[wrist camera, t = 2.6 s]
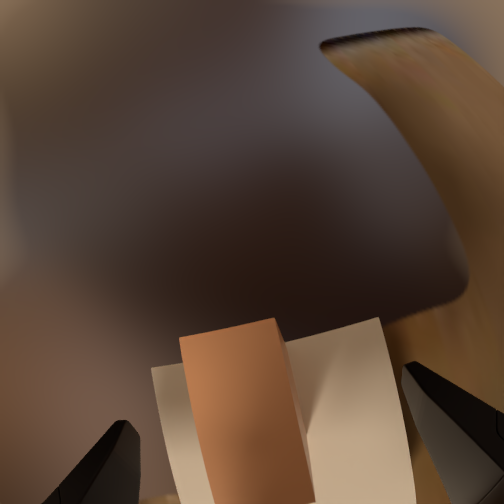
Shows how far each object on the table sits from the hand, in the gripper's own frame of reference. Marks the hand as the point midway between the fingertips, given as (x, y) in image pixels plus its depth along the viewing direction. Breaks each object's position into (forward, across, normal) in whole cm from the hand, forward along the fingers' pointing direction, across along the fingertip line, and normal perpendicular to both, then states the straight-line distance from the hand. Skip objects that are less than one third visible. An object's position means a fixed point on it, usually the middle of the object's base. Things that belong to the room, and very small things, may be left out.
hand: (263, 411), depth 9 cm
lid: (+1, 0, +6) cm, 6 cm away
